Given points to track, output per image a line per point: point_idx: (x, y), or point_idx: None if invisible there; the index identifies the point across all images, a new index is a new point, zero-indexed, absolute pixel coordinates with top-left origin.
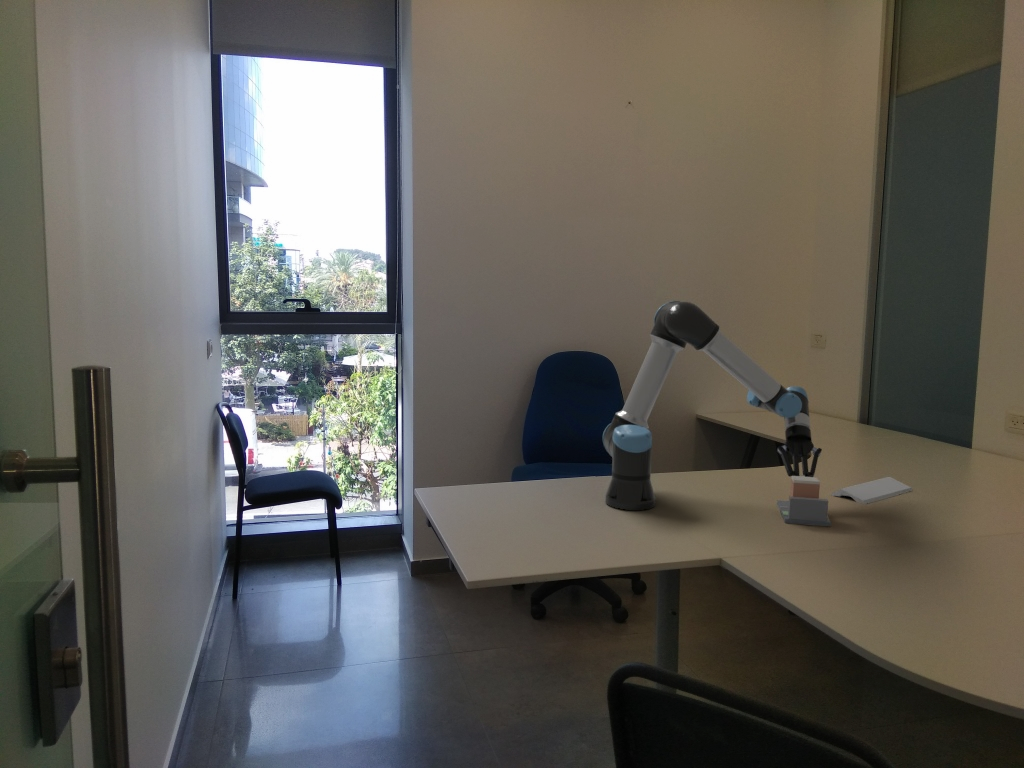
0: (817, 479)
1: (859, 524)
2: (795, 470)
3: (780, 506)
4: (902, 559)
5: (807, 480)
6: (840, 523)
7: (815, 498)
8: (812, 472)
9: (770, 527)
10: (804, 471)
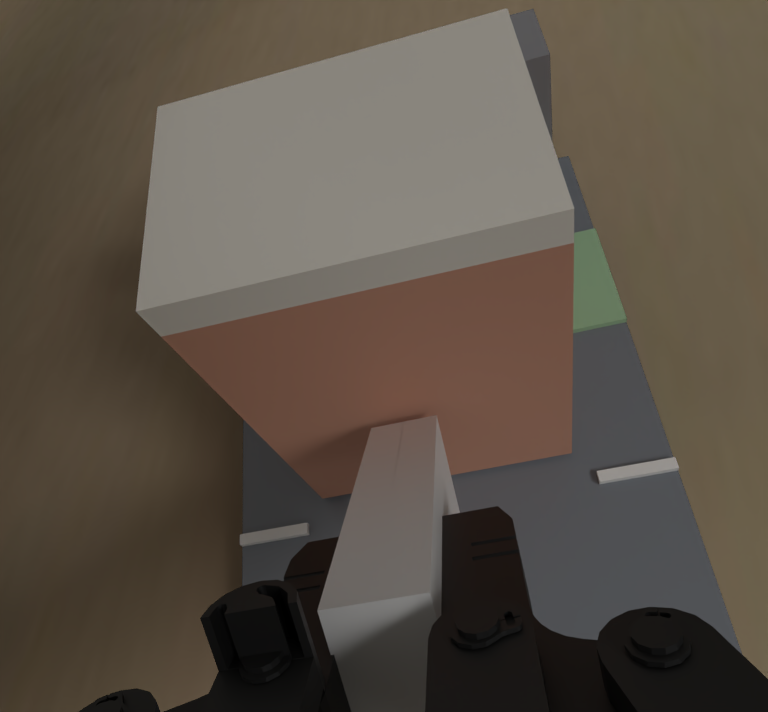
0: (160, 198)
1: (45, 399)
2: (531, 683)
3: (675, 465)
4: (55, 10)
5: (315, 79)
6: (172, 359)
7: None
8: (114, 697)
9: (650, 58)
10: (294, 702)
